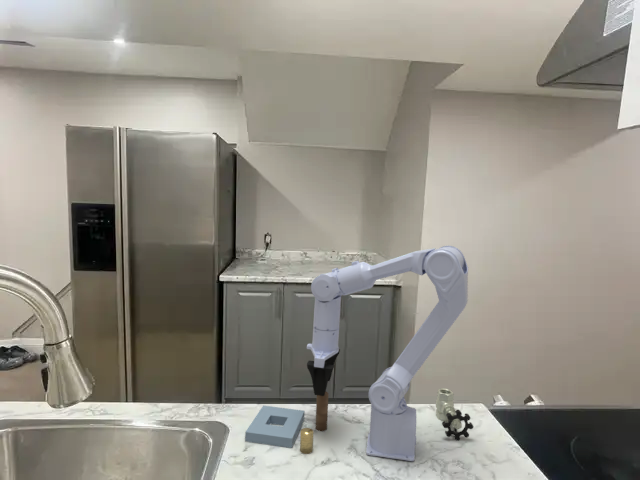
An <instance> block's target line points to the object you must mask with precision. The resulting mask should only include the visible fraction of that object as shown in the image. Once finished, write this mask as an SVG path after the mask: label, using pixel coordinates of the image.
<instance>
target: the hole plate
mask: <svg viewBox="0 0 640 480" xmlns="http://www.w3.org/2000/svg"><path fill="white" fill-rule="evenodd" d="M305 415H306V413H305V410H301V409H294V408H285V407H278V406H272V405H270V406H269V405H265V404H263V405H262V406H261V408H260V410H259V411H258V413H257V414H256V415H255V417H254V419H253V420H252V421H251V423H250V424H249V425H248V427H247V429H246V430H245V434H244V435H245V436H244V437H245V438H244V439H245V442H249V443H254V444H262V445H268V446H269V445H270V446H277V447H283V448H289V449H292V448H293V446H294V444H295V442H296V440H297V437H298V435H299V432H300V431H301V429H302V425H303V423H304V421H305Z"/></svg>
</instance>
